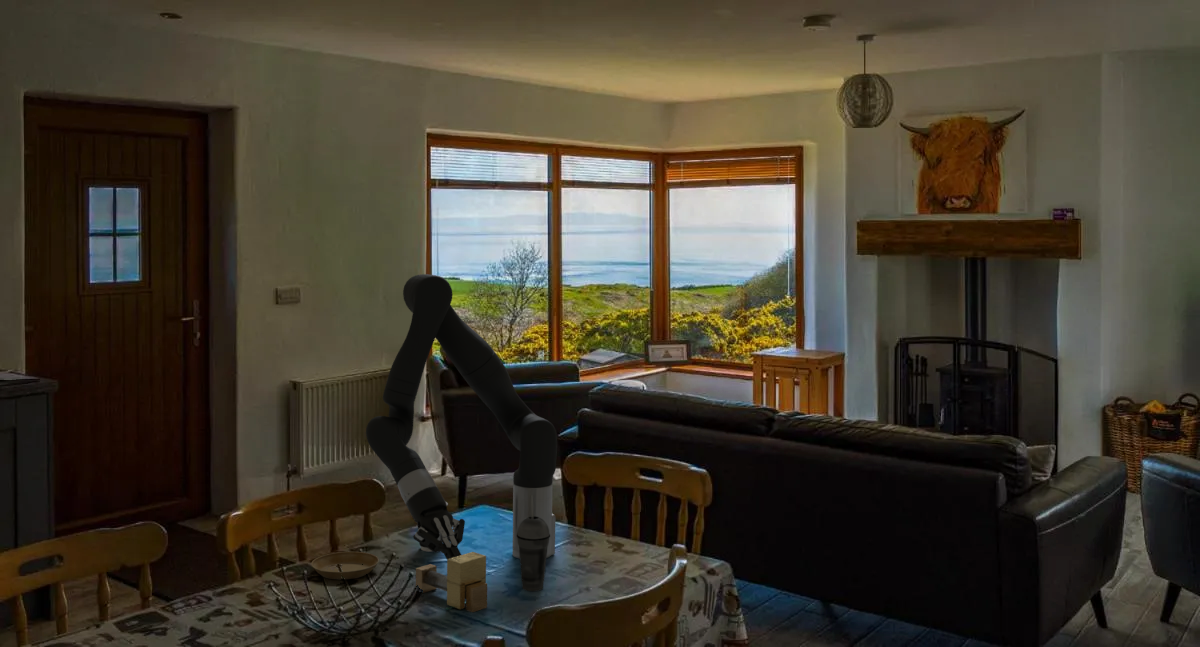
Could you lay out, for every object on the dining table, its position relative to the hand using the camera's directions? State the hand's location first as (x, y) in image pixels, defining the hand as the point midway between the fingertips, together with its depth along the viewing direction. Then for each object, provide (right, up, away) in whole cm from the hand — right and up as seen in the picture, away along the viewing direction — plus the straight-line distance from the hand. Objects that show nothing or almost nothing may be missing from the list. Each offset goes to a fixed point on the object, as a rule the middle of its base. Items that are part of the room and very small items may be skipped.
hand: (458, 564), depth 224 cm
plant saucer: (-28, -6, +19) cm, 34 cm away
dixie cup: (-11, -4, +37) cm, 39 cm away
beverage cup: (+15, -7, +10) cm, 19 cm away
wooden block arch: (+2, -8, -1) cm, 8 cm away
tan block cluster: (-2, -8, +2) cm, 8 cm away
